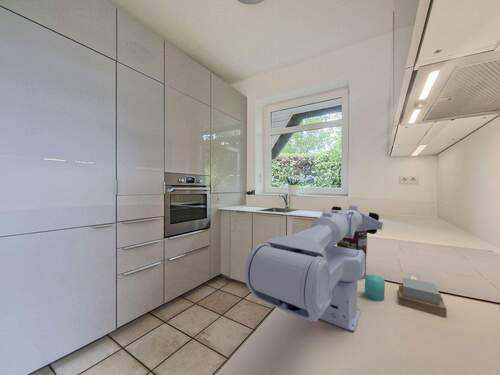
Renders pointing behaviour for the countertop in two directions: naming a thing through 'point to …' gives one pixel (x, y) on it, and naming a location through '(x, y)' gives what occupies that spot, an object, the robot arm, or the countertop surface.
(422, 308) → the tower base
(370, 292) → the cylinder
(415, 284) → the tower top
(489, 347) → the countertop surface
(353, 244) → the supplement box
